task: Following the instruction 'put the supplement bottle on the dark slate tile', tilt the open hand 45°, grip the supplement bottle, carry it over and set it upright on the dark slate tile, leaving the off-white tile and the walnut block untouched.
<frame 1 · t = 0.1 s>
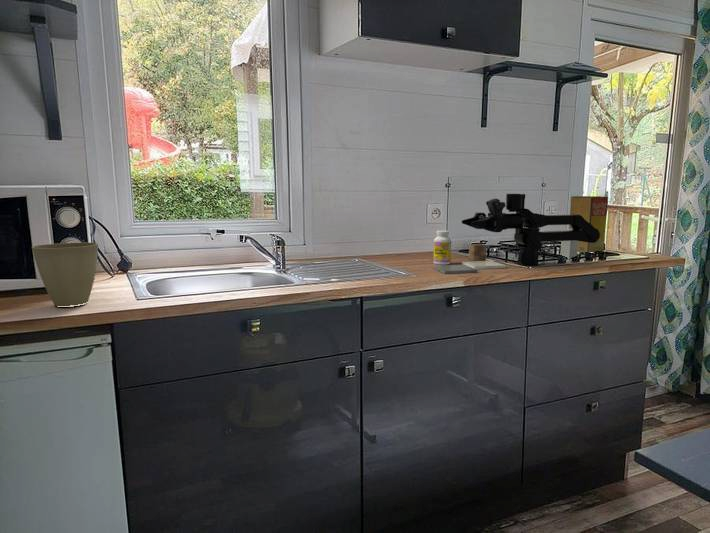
hand: (466, 222, 181), 17 cm above the worktop, tool horizontal, fingers open, 9 cm apart
food packaging: (585, 252, 220), on the worktop
walnut block: (477, 262, 195), on the worktop
off-white tile: (483, 266, 185), on the worktop
plant pot: (72, 305, 129), on the worktop
slate tile: (454, 270, 176), on the worktop
skincare box: (568, 259, 202), on the worktop
supplement bottle: (442, 264, 192), on the worktop
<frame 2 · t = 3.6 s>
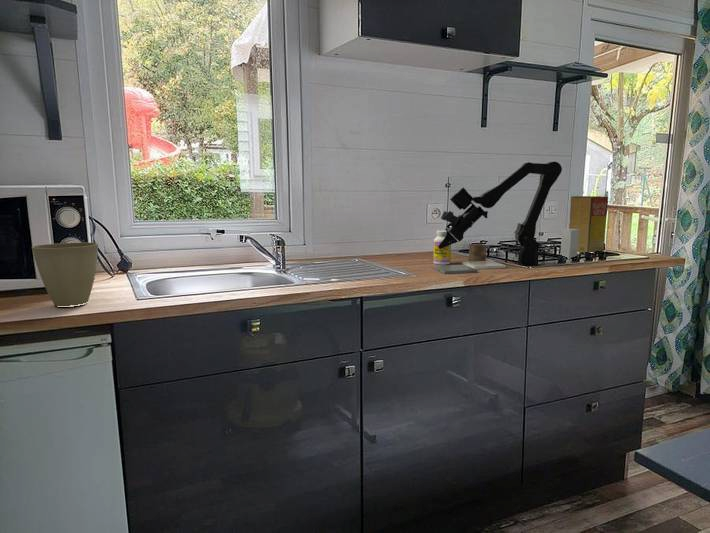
hand: (438, 246, 191), 7 cm above the worktop, tool tilted 45°, fingers closed on supplement bottle, 7 cm apart
supplement bottle: (442, 264, 192), on the worktop, touching gripper
everything else where it was.
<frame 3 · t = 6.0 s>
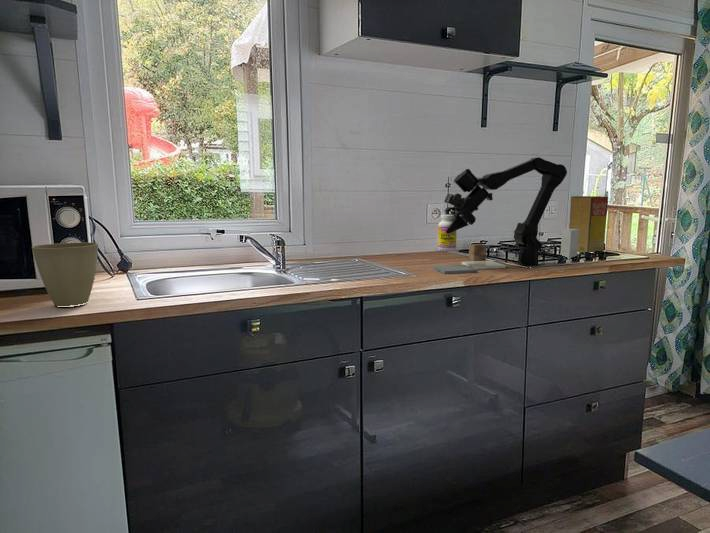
hand: (443, 232, 181), 13 cm above the worktop, tool tilted 45°, fingers closed on supplement bottle, 7 cm apart
supplement bottle: (447, 250, 182), point 6 cm above the worktop, touching gripper
everything else where it was.
when the fingers open (9 cm above the worktop, at t = 8.2 s): supplement bottle drops 1 cm, resting on slate tile.
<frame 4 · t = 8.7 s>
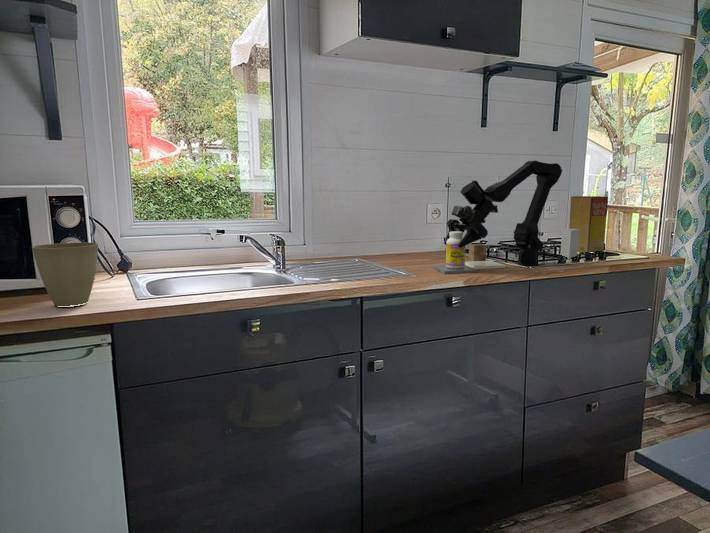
hand: (451, 245, 174), 9 cm above the worktop, tool tilted 45°, fingers open, 9 cm apart
supplement bottle: (455, 268, 176), point 1 cm above the worktop, touching slate tile
everything else where it was.
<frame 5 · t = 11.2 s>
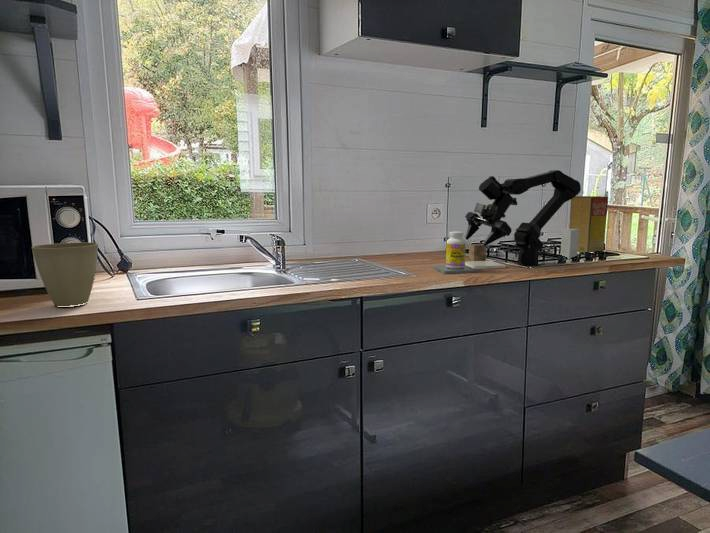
hand: (474, 242, 178), 10 cm above the worktop, tool tilted 40°, fingers open, 9 cm apart
nothing on the worktop moved.
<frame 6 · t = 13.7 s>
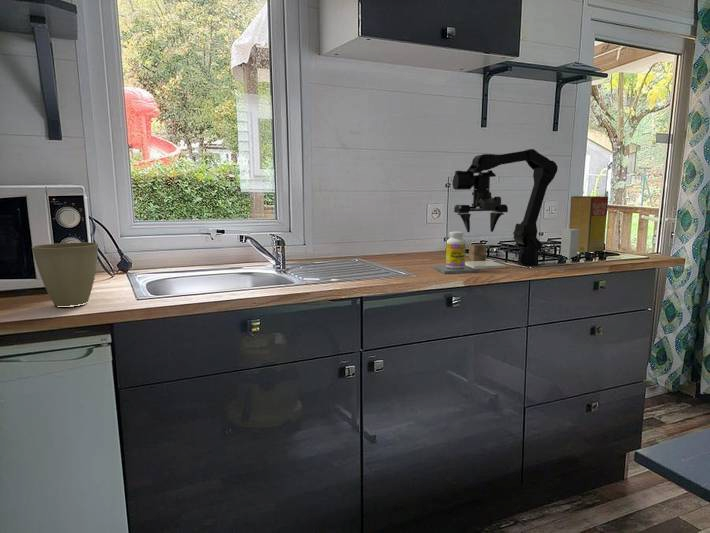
hand: (480, 232, 182), 13 cm above the worktop, tool pointing down, fingers open, 9 cm apart
nothing on the worktop moved.
at the end: supplement bottle inside the target area on the slate tile (0.2 cm from its centre), point 0.8 cm above the slate tile's base; supplement bottle tilted 0°; walnut block moved 0.1 cm from its start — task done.
